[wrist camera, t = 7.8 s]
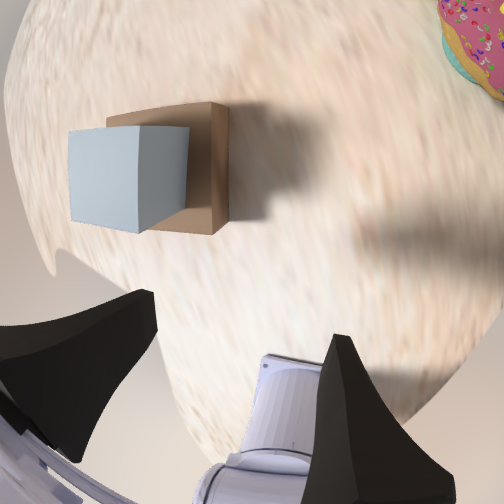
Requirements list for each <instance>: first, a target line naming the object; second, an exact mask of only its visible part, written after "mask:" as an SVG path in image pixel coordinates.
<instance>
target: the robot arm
mask: <svg viewBox="0 0 504 504" xmlns="http://www.w3.org/2000/svg"><path fill="white" fill-rule="evenodd" d="M157 331H158V329H157V320H156V312H155V302H154V292H151V291H147V290H144V289H139V290H136V291H133V292H131V293H128V294H125V295H123V296H120V297H118V298H116V299H113V300H111V301H108V302H106V303H104V304H101V305H98V306H96V307H93V308H90V309H88V310H85V311H83V312H79V313H77V314H74V315H70V316H67V317H63V318H60V319H56V320H51V321H46V322H41V323H35V324H29V325H17V326H0V504H82V503H83V499H82V498H80V497H79V496H77V495H76V494H75V493H73V492H72V491H71V490H69V489H68V488H67V487H65V486H64V485H63V484H62V483H60V482H59V481H58V480H56V479H55V478H54V477H53V476H52V475H50V474H49V473H48V471H47V469H48V468H47V466H48V467H50V468H51V469H52V470H54V471H55V472H56V473H57V474H59V475H60V476H61V477H62V478H64V479H65V480H67V481H68V482H69V483H71V484H72V485H73V486H75V487H76V488H78V489H79V490H81V491H82V492H84V493H85V494H87V495H88V496H90V497H91V498H93V499H95V500H96V501H98V502H99V503H102V504H138V503H135V502H133V501H131V500H129V499H128V498H126V497H124V496H122V495H120V494H118V493H116V492H114V491H113V490H111V489H109V488H107V487H106V486H104V485H102V484H101V483H99V482H97V481H96V480H94V479H92V478H90V477H89V476H88V475H86V474H84V473H83V472H82V471H80V470H79V469H77V468H76V467H74V466H73V465H71V464H70V463H69V462H67V461H66V460H65V459H63V458H62V457H60V456H59V455H58V454H57V453H55V452H54V451H53V450H56V451H57V452H58V453H60V454H61V455H62V456H64V457H65V458H67V459H68V460H69V461H71V462H72V463H80V462H81V461H82V458H83V455H84V452H85V449H86V447H87V444H88V441H89V439H90V437H91V434H92V432H93V430H94V428H95V426H96V423H97V421H98V420H99V418H100V416H101V414H102V412H103V410H104V408H105V406H106V405H107V403H108V401H109V400H110V398H111V396H112V395H113V393H114V391H115V390H116V389H117V387H118V386H119V384H120V383H121V382H122V381H123V379H124V378H125V377H126V376H127V374H128V373H129V372H130V370H131V369H132V368H133V367H134V365H135V364H136V363H137V362H138V360H139V359H140V358H141V356H142V355H143V354H144V353H145V351H146V350H147V349H148V347H149V345H150V344H151V342H152V340H153V338H154V337H155V335H156V333H157ZM265 364H267V365H265ZM48 446H49V447H51V448H52V449H53V450H51V449H50V448H49V447H48ZM455 503H456V490H455V482H454V477H453V475H452V474H450V473H449V472H448V471H446V470H445V469H444V468H442V467H441V466H440V465H439V464H437V463H436V462H435V461H434V460H433V459H431V458H430V457H429V456H428V455H427V454H426V453H425V452H424V451H423V450H422V449H421V448H420V447H419V446H418V445H417V444H416V443H415V442H414V441H413V440H412V438H411V437H410V436H409V435H408V434H407V433H406V432H405V431H404V429H403V428H402V427H401V426H400V424H399V423H398V422H397V421H396V419H395V418H394V417H393V415H392V414H391V412H390V411H389V409H388V408H387V407H386V405H385V403H384V402H383V400H382V399H381V397H380V395H379V394H378V392H377V390H376V388H375V387H374V385H373V383H372V381H371V379H370V377H369V375H368V373H367V372H366V370H365V368H364V366H363V363H362V361H361V359H360V357H359V355H358V353H357V351H356V348H355V346H354V344H353V341H352V339H351V338H350V336H345V335H339V334H334V335H333V338H332V341H331V343H330V346H329V349H328V352H327V355H326V358H325V360H324V363H323V366H318V365H313V364H307V363H302V362H297V361H291V360H287V359H282V358H277V357H272V356H267V355H265V356H263V357H262V359H261V363H260V369H259V374H258V380H257V386H256V391H255V397H254V402H253V408H252V414H251V417H250V420H249V423H248V426H247V429H246V432H245V435H244V438H243V441H242V443H241V446H240V449H239V452H238V454H235V453H230V454H229V456H228V459H227V462H226V463H217V464H215V465H214V466H212V468H210V469H209V470H208V471H206V472H205V473H204V474H203V476H202V477H201V479H200V480H199V482H198V484H197V487H196V489H195V492H194V496H193V502H192V504H455Z"/></svg>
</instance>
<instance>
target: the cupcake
mask: <svg viewBox="0 0 504 504" xmlns="http://www.w3.org/2000/svg"><path fill="white" fill-rule="evenodd" d="M437 10H438V14H439V16H440V20H441V25H442V29H443V35H442V44H443V48H444V51H445V54H446V56H447V58H448V60H449V61H450V63H451V64H452V66H453V67H454V68H455V69H456V70H457V71H458V72H459V73H460V74H461V75H462V76H463V77H465V78H466V79H468V80H469V81H472V82H474V83H477V84H480V85H481V86H482V87H483V88H484V89H485V90H486V91H487V92H488V93H489V94H490V95H491V96H492V97H494V98H496V99H498V100H501V101H503V102H504V0H438V6H437Z"/></svg>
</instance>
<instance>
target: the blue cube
mask: <svg viewBox="0 0 504 504" xmlns="http://www.w3.org/2000/svg"><path fill="white" fill-rule="evenodd" d="M189 131H190V127H174V126H121V127H107V128H96V129H86V130H77V131H69V137H68V176H69V197H70V210H71V221H76V222H81V223H86V224H91V225H96V226H101V227H106V228H111V229H116V230H121V231H126V232H132V233H137V234H139V233H141V232H143V231H145V230H147V229H148V228H150V227H152V226H154V225H156V224H157V223H159V222H161V221H163V220H165V219H167V218H169V217H170V216H172V215H174V214H176V213H178V212H180V211H182V210H184V209H185V201H186V177H187V159H188V144H189Z"/></svg>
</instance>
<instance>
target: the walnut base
mask: <svg viewBox="0 0 504 504" xmlns="http://www.w3.org/2000/svg"><path fill="white" fill-rule="evenodd" d="M121 126H174V127H190V131H189V144H188V159H187V177H186V201H185V209H184V210H182V211H180V212H178V213H176V214H174V215H172V216H170V217H169V218H167V219H165V220H163V221H161V222H159V223H157V224H156V225H154V226H152V227H150V228H148V230H160V231H172V232H183V233H194V234H205V235H213V234H215V233H216V232H217V231H218V230H219V229H220V228H222V227H223V226H224V225H225V224H226V223H228V222H229V203H228V130H229V107H226V106H223V105H220V104H216V103H213V102H204V103H193V104H184V105H176V106H168V107H161V108H154V109H148V110H142V111H137V112H131V113H126V114H121V115H116V116H112V117H107V118H106V128H107V127H121Z"/></svg>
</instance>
